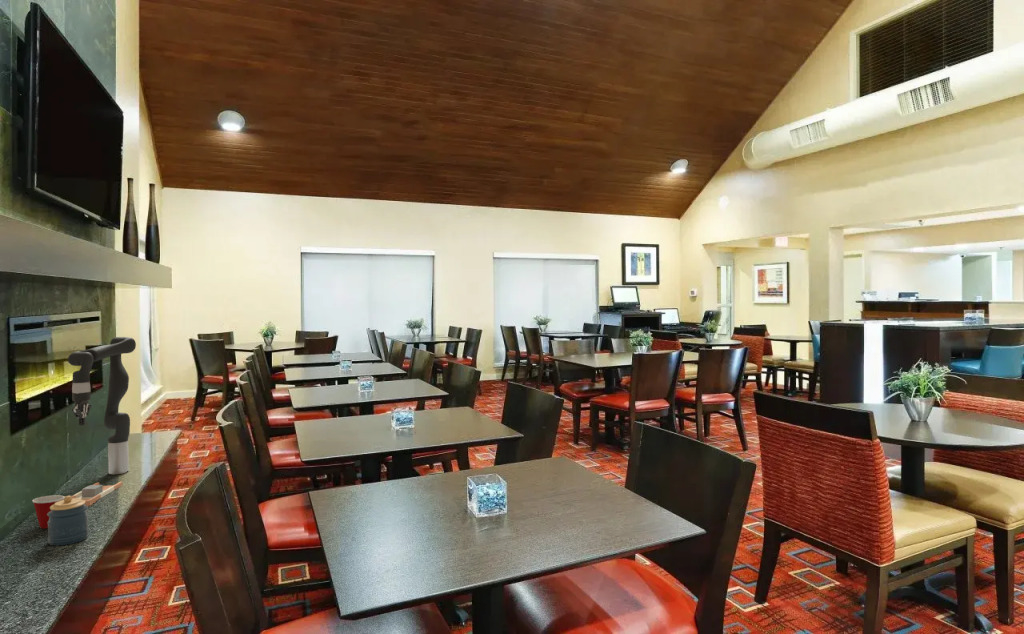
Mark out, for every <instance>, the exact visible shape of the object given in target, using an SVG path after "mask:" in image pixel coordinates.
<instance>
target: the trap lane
mask: <svg viewBox="0 0 1024 634" xmlns="http://www.w3.org/2000/svg"><path fill="white" fill-rule="evenodd" d="M92 485H100V482H96V483H94V484H92ZM123 485H124V484H123V481H119V482H117V483H116V484H114V485H103V492H101V493H100V494H98V495H96V496H94V497H82V490H80V491H79V492H77V493H75V494H73V495H70V496H71V497H72V498H79V499H81V500H84V501H85V505H87V506H88V507H91V506H92V505H94V504H95V503H97V502H98V501H99V500H100V499H102V498H103V497H105V496H107V495H109V494H110V493H112V492H113V491H115V490H117V489H118V488H120V487H122V486H123ZM96 501H97V502H96ZM93 503H94V504H93Z"/></svg>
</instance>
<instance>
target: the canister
mask: <svg viewBox="0 0 1024 634" xmlns="http://www.w3.org/2000/svg"><path fill="white" fill-rule="evenodd" d="M71 496H72V495H66V496H64V497H65V498H64V499H63V500H61V501H58V502H56V503H55V504H54V505H52V506H51V507H50V509H51V511H49V512H48V513H47V515H48V516H49V521H48V522H47V523H48V528H47V531H48V532H47V542H48V545H50V546H53V545H62V546H66V545H67V544H68V545H72V543H73V544H76V543H78V542H81V540H82V541H83V540H86V538H88V536H89V533H90V531H89V514H88V512H87V511H88V509H89V506H87V505H85V501H84V500H81V499H79V498H72V497H71ZM68 545H67V546H68Z"/></svg>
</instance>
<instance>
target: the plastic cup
mask: <svg viewBox="0 0 1024 634" xmlns="http://www.w3.org/2000/svg"><path fill="white" fill-rule="evenodd" d="M65 497H66V496H64V495H57V494H56V495H55V494H54V495H45V496H40V497H36V498H33V499H32V500H31V501H32V503H33V505H34V510H35V513H36V518H37V521H38V525H39V528H40V527H41V528H40V529H48V523H47V522H48V521H49V516H48V515H47V513H48V512H49V511H51V509H50V507H51V506H52V505H54V504H55V503H56V502H58V501H61V500H64V498H65Z"/></svg>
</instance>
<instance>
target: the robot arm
mask: <svg viewBox="0 0 1024 634" xmlns="http://www.w3.org/2000/svg"><path fill="white" fill-rule="evenodd" d="M136 343H137V342H136V340H135V339H134V338H133V337H129V336H114V337H113V338H111V340H110V343H109V344H105V345H100V346H96V347H91V348H89V349H83V350H77V351H73V352H72V353H70V354H69V355H68V357H67V362H68V364H69V365H71V366H73V367H80V368H79V370H75V371H73V373H72V387H71V390H72V391H71V393H72V394H71V395H72V396H71V399H72V402H75V403H74V408H72V409H71V412H72V414H73V415H74V417H75V419H76V418H77V419H78V425H79V426H84V425H86V417H87V416H89V413H90V411H91V409H92V404H89V401H90V400H91V399H92V396H91V393H92V392H91V391H92V390H91V389H92V388H91V383H90V382H91V377H90V376H91V375H90V374H91V370H92V366H93V364H94V362H97V361H100V360H101V361H102V360H104V359H107V358H109V375H108V377H109V378H108V390H107V391H108V392H107V402H106V408H105V414H104V418H103V420H104V421H103V423H104V427H105V428H106V429H107V430H115V431H114V434H113V435H110V436H108V439H107V445H108V447H107V452H108V458H107V459H108V474H109V475H119V474H125V473H128V472H129V468H130V465H129V463H130V461H129V454H130V453H129V437H130V434H131V433H130V431H131V429H130V428H131V418H130V415H129V414H128V413H126V412H119V406H120V403H121V401H122V399H123V398H124V397H125V395H126V394H127V391H128V390H129V383H130V377H129V374H128V372H127V370H126V368H125V366H124V365H123V362H122V355H123V354H130V353H133V352H134V351H135V350H136V348H137V347H136V346H137V344H136ZM127 471H128V472H127Z"/></svg>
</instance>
